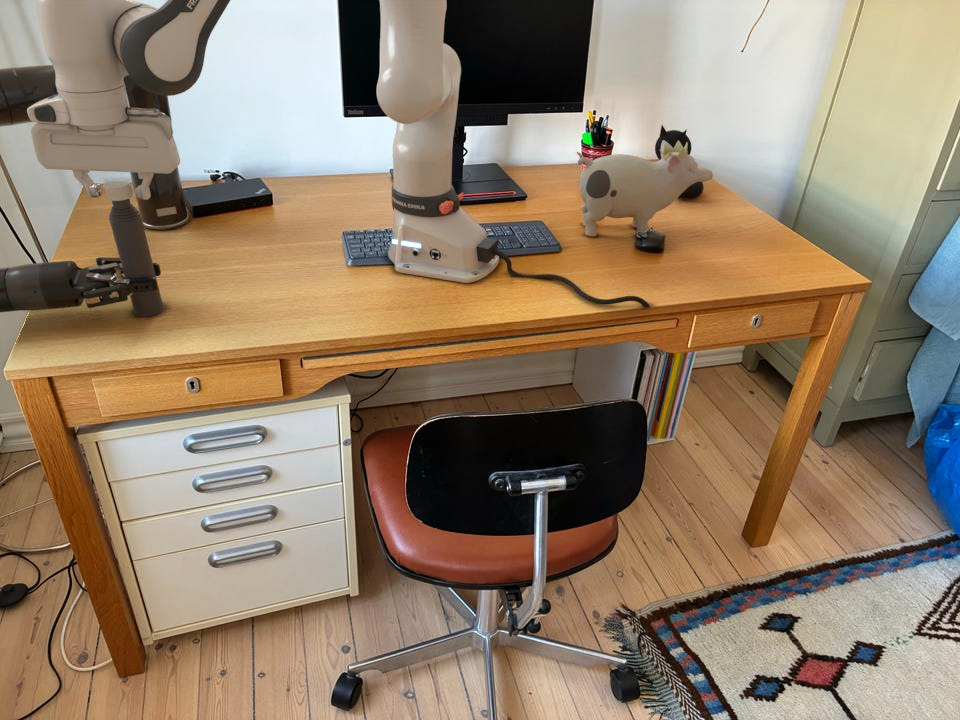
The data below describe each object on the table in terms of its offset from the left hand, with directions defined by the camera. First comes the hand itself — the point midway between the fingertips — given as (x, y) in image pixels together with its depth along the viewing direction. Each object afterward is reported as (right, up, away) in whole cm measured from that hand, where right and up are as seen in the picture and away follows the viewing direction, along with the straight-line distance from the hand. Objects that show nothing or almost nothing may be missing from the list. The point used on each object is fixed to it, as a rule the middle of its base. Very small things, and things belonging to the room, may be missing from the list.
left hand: (157, 276), depth 120 cm
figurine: (+88, +14, +37) cm, 96 cm away
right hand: (-2, +11, -8) cm, 14 cm away
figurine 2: (+103, +29, +60) cm, 123 cm away
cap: (-2, +13, -10) cm, 16 cm away
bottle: (-3, -5, +3) cm, 7 cm away
